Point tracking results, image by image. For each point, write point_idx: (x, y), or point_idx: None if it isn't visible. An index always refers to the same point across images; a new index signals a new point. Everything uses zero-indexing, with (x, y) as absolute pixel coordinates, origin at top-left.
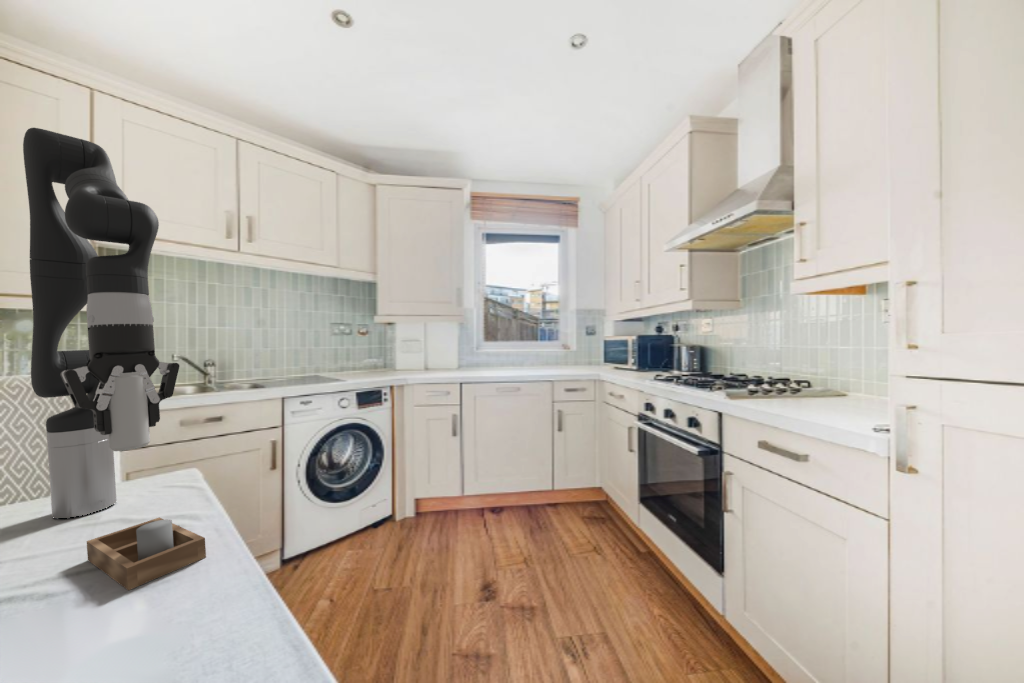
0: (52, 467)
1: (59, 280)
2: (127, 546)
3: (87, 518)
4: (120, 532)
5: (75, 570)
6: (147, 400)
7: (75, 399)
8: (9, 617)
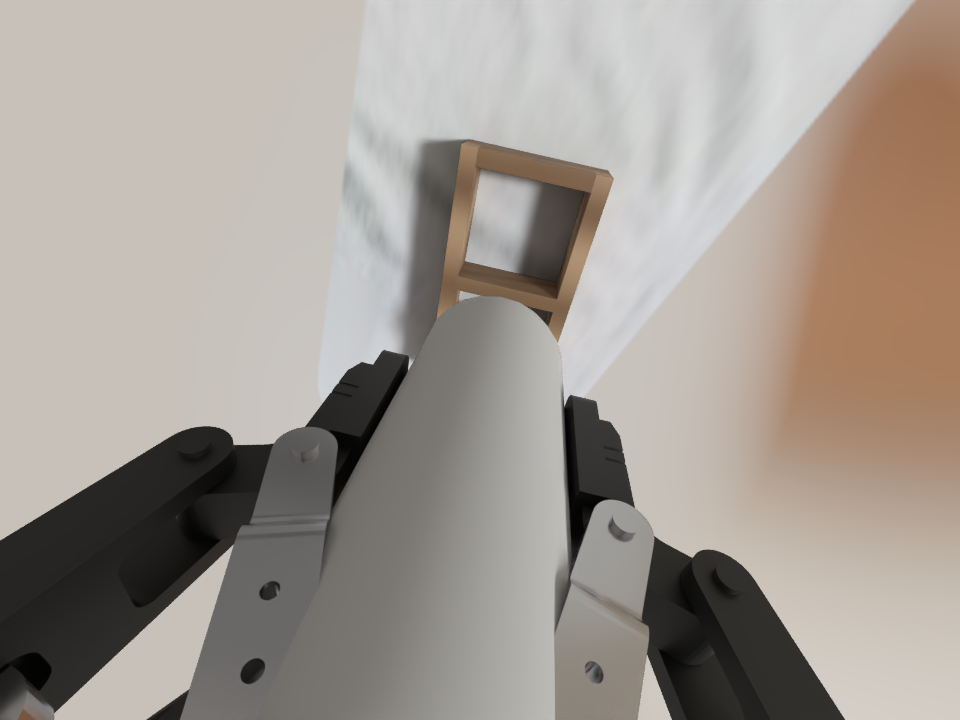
0: None
1: None
2: (474, 290)
3: None
4: (519, 176)
5: (437, 171)
6: (575, 546)
7: (142, 543)
8: (333, 257)
